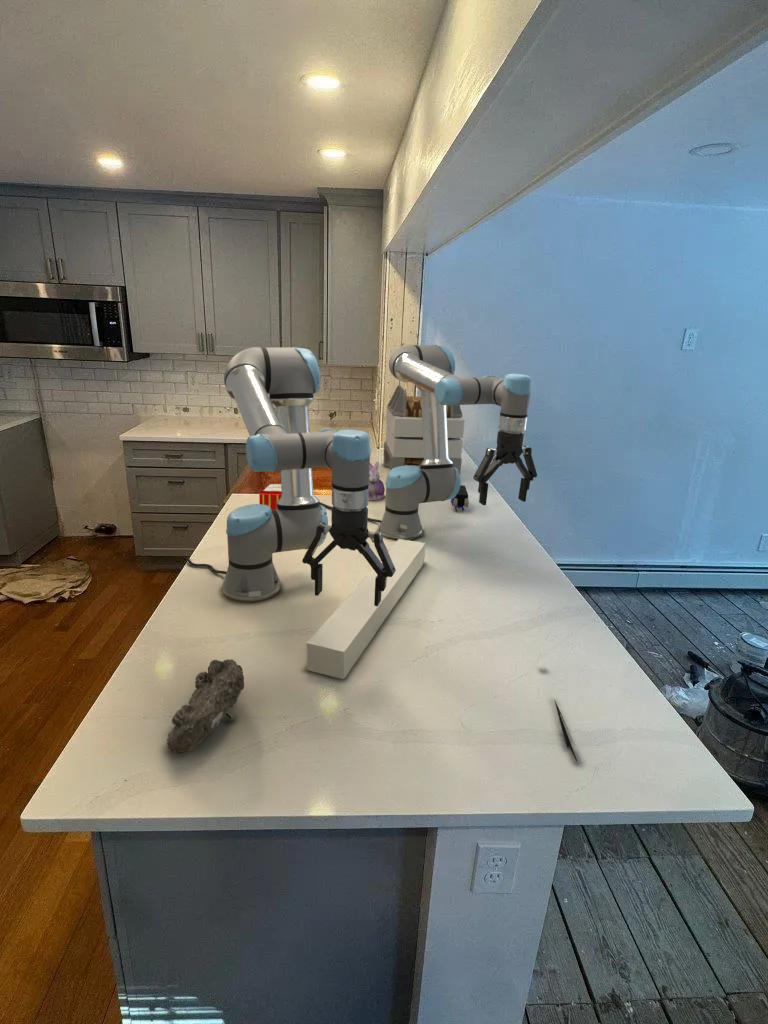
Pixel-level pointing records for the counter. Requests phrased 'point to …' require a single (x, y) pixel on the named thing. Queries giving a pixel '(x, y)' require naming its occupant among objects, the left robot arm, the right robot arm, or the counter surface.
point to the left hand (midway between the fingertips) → (347, 598)
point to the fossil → (206, 705)
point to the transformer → (416, 432)
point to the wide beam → (362, 614)
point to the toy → (270, 496)
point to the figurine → (375, 483)
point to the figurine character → (460, 499)
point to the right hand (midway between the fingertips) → (502, 502)
